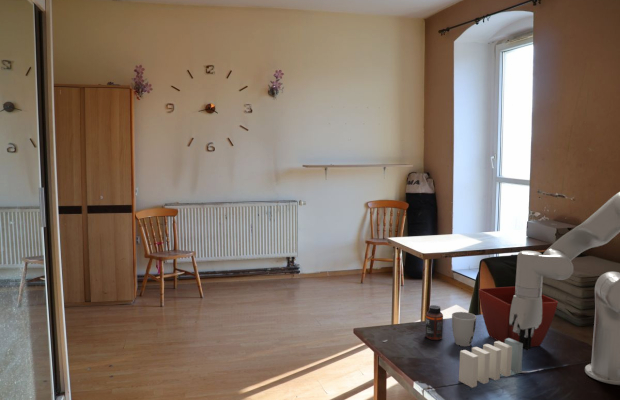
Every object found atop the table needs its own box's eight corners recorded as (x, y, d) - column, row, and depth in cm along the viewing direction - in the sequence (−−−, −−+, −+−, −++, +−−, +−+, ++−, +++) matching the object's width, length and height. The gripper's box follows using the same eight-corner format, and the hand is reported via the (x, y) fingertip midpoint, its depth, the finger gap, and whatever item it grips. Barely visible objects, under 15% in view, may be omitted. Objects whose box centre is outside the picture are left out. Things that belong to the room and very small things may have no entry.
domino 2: (488, 382, 148) (490, 352, 147) (483, 383, 147) (485, 354, 146) (475, 375, 152) (476, 346, 151) (470, 377, 151) (471, 347, 150)
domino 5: (521, 371, 155) (522, 343, 154) (516, 373, 154) (518, 344, 153) (507, 365, 160) (509, 338, 159) (503, 366, 159) (504, 339, 158)
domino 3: (499, 378, 150) (501, 349, 149) (495, 380, 149) (496, 350, 148) (486, 372, 155) (487, 343, 154) (481, 373, 154) (483, 344, 153)
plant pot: (556, 349, 173) (559, 301, 171) (507, 354, 168) (510, 304, 166) (520, 329, 191) (523, 285, 189) (475, 333, 187) (477, 288, 185)
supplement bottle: (444, 336, 183) (445, 306, 182) (439, 342, 178) (440, 310, 177) (428, 333, 186) (429, 303, 185) (422, 338, 181) (424, 307, 180)
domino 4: (510, 375, 153) (512, 346, 152) (506, 376, 152) (507, 347, 151) (497, 368, 157) (498, 340, 156) (492, 370, 156) (494, 342, 155)
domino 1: (476, 386, 146) (478, 355, 145) (471, 387, 145) (473, 357, 144) (463, 379, 150) (465, 349, 149) (458, 380, 149) (460, 351, 148)
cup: (476, 349, 172) (477, 320, 171) (451, 347, 174) (452, 318, 173) (473, 340, 180) (475, 312, 179) (449, 338, 182) (451, 311, 180)
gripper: (533, 285, 164) (529, 340, 166) (501, 291, 157) (498, 348, 159) (554, 291, 157) (550, 348, 160) (522, 297, 150) (518, 357, 152)
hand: (524, 348), depth 159 cm, fingers closed
